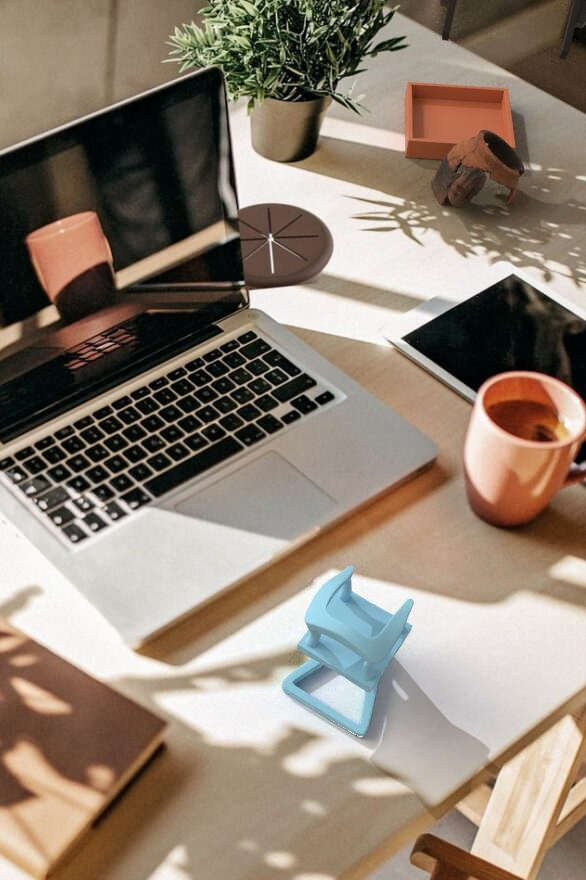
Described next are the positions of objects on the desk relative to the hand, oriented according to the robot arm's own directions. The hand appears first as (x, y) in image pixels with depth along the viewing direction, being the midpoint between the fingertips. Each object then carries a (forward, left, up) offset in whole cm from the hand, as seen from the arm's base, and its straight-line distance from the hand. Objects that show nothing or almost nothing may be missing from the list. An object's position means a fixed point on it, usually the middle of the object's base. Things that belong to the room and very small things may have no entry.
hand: (504, 46), depth 112 cm
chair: (+15, +75, -14) cm, 77 cm away
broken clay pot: (+2, +10, -14) cm, 17 cm away
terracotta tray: (+3, -4, -14) cm, 15 cm away
